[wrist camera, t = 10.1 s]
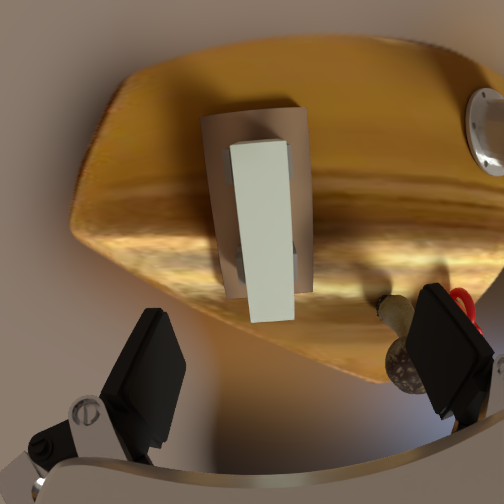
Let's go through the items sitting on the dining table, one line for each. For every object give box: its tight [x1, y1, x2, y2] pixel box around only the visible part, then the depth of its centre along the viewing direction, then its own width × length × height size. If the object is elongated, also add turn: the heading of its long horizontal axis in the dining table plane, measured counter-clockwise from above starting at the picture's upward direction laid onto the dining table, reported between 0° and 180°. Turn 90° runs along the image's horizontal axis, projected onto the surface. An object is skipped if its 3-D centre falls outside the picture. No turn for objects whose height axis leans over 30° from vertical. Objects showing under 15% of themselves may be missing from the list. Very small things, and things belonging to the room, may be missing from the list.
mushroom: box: [376, 295, 426, 394], centre depth 27 cm, size 9×9×15 cm
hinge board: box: [200, 107, 313, 299], centre depth 26 cm, size 10×20×5 cm, turn 6°
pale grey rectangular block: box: [230, 139, 294, 323], centre depth 23 cm, size 4×14×8 cm, turn 6°
